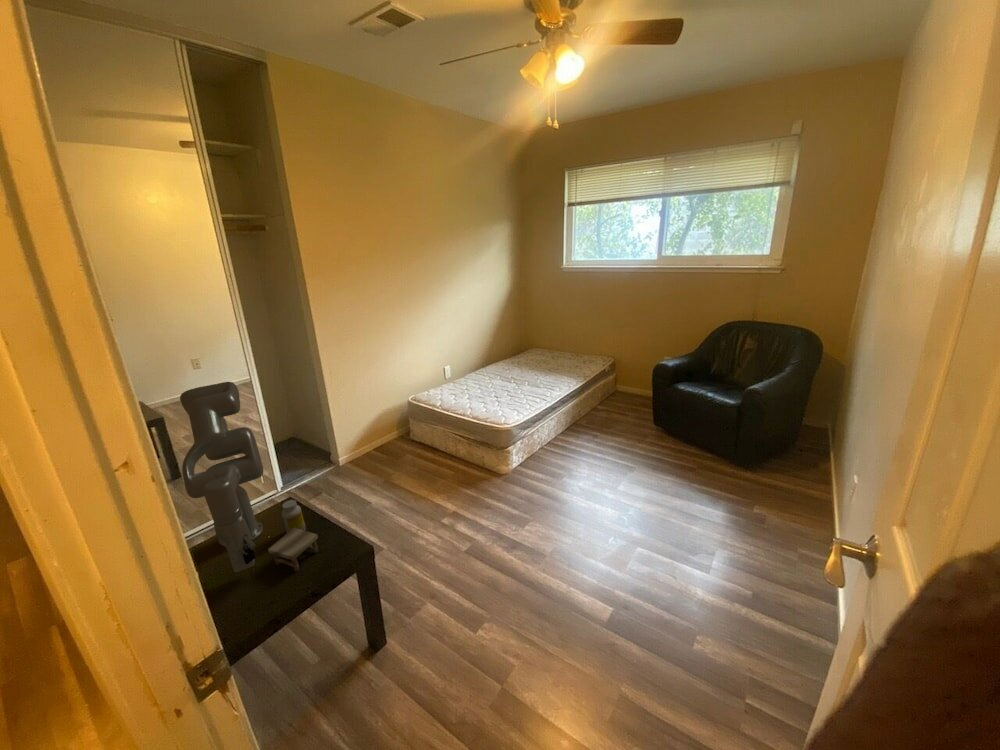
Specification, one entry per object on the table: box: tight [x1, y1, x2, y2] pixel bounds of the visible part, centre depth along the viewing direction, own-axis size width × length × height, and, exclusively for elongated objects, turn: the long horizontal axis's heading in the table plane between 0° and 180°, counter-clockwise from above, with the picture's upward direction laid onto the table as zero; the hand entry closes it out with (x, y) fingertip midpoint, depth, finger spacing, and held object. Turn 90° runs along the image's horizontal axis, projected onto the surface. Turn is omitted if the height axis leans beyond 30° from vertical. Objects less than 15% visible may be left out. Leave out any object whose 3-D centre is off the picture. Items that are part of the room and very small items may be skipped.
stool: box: [267, 528, 319, 572], centre depth 140 cm, size 11×11×7 cm
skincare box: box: [225, 542, 256, 574], centre depth 131 cm, size 6×4×12 cm
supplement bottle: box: [281, 499, 307, 534], centre depth 152 cm, size 7×7×13 cm
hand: (242, 557), depth 132 cm, fingers closed on skincare box, 6 cm apart
